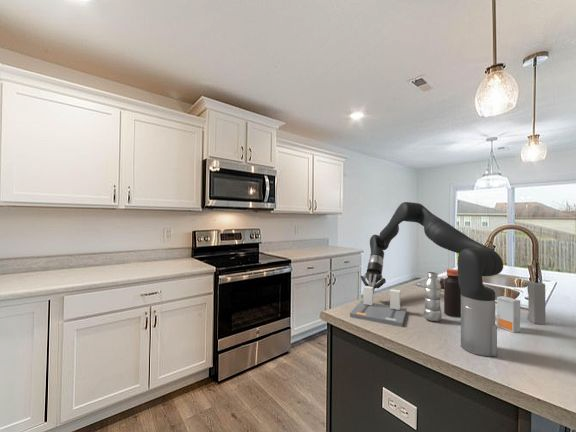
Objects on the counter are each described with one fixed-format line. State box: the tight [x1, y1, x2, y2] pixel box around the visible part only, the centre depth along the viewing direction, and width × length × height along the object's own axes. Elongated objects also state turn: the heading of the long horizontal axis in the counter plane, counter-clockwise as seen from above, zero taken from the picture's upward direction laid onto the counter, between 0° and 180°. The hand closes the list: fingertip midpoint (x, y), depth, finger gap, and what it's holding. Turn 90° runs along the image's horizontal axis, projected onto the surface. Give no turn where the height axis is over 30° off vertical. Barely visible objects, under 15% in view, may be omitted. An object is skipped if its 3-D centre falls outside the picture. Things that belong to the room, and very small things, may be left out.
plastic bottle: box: [423, 271, 443, 322], centre depth 111 cm, size 6×7×20 cm
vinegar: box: [443, 268, 461, 318], centre depth 117 cm, size 7×7×20 cm
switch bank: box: [349, 300, 408, 328], centre depth 117 cm, size 21×20×2 cm
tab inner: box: [389, 288, 401, 310], centre depth 120 cm, size 4×3×8 cm
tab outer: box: [362, 285, 374, 305], centre depth 126 cm, size 4×3×8 cm
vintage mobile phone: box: [526, 262, 546, 326], centre depth 110 cm, size 4×5×25 cm
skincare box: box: [496, 295, 521, 334], centre depth 103 cm, size 6×4×12 cm
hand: (370, 294), depth 129 cm, fingers closed
